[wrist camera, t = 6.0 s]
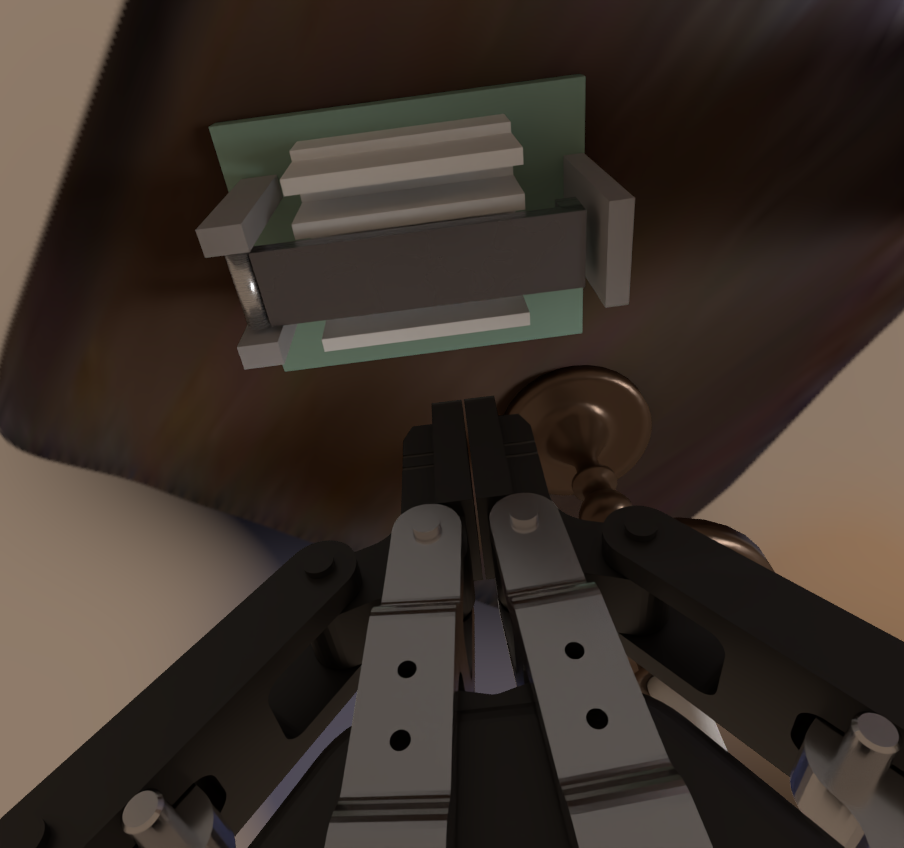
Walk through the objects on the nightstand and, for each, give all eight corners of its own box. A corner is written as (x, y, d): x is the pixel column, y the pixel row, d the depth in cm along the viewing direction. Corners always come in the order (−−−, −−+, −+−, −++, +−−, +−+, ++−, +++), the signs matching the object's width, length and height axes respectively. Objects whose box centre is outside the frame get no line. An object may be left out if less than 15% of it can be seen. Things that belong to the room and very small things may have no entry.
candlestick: (684, 452, 39) (1455, 1711, 10) (531, 519, 42) (810, 1679, 13) (626, 317, 33) (1986, 2295, 5) (452, 405, 36) (642, 2027, 7)
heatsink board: (579, 73, 26) (642, 101, 19) (577, 324, 33) (623, 411, 26) (214, 123, 27) (147, 167, 20) (287, 362, 34) (257, 458, 27)
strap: (575, 196, 24) (587, 210, 22) (575, 270, 26) (585, 288, 24) (233, 241, 24) (220, 258, 22) (255, 311, 26) (245, 331, 24)
